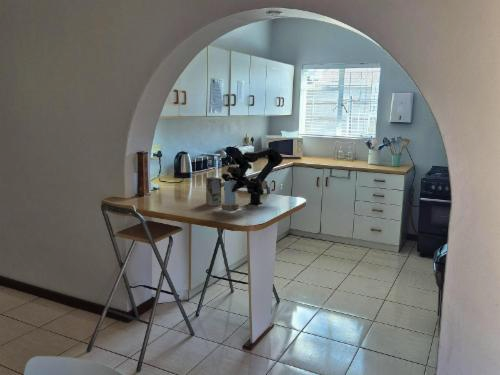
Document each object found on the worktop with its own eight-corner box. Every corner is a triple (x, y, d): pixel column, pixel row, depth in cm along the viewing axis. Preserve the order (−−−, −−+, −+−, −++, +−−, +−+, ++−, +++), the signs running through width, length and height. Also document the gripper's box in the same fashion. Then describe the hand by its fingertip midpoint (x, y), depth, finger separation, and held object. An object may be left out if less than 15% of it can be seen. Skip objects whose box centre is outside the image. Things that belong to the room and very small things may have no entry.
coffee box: (221, 205, 272) (221, 178, 269) (212, 206, 269) (212, 179, 266) (215, 202, 280) (214, 176, 277) (205, 203, 277) (205, 177, 274)
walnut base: (230, 205, 270) (230, 200, 270) (246, 208, 264) (246, 202, 263) (213, 211, 257) (213, 205, 257) (230, 214, 251) (230, 208, 250)
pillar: (229, 202, 263) (229, 180, 260) (235, 203, 260) (235, 181, 257) (224, 204, 260) (224, 181, 257) (230, 205, 257) (230, 182, 254)
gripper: (223, 159, 264) (209, 180, 258) (246, 162, 252) (232, 184, 246) (232, 171, 271) (219, 192, 265) (256, 175, 259) (242, 196, 253)
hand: (228, 191), depth 257 cm, fingers open, 6 cm apart
